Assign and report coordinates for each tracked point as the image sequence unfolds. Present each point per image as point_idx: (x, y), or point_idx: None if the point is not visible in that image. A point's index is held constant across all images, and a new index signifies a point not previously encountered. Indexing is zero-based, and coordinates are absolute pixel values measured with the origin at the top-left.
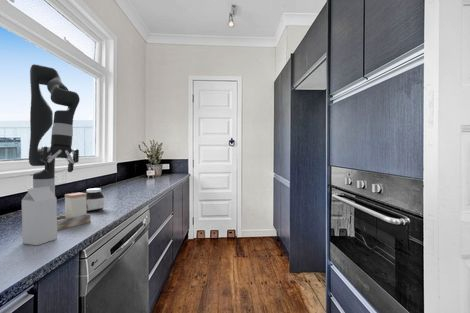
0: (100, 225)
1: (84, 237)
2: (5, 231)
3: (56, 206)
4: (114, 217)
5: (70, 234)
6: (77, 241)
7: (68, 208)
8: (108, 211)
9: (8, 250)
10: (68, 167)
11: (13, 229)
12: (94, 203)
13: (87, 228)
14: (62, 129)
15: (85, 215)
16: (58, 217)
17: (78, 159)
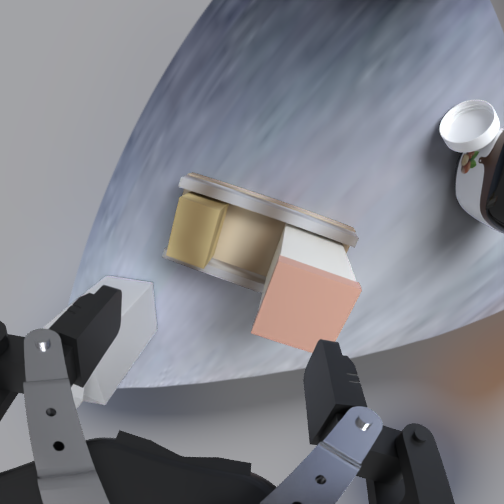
0: (292, 354)
1: (192, 378)
2: (148, 105)
3: (117, 386)
4: (392, 332)
5: (195, 334)
6: (168, 379)
7: (271, 269)
8: (475, 245)
9: (79, 285)
10: (324, 377)
11: (170, 104)
12: (472, 214)
13: (255, 340)
14: None
15: None
16: (261, 213)
17: (397, 494)
